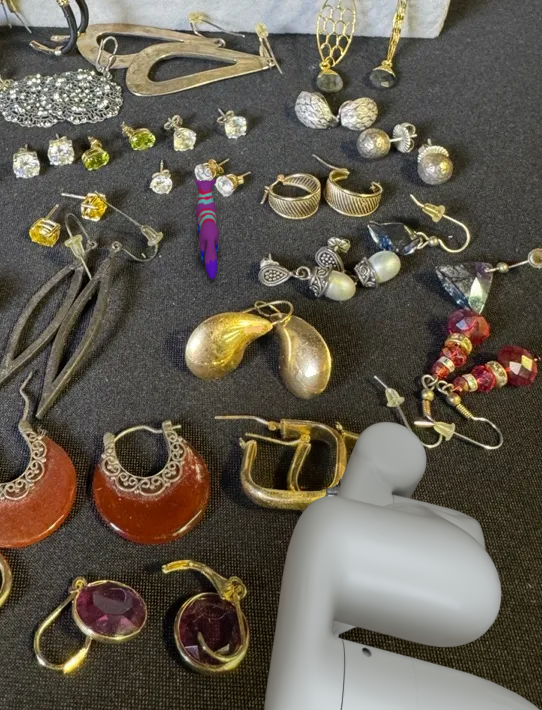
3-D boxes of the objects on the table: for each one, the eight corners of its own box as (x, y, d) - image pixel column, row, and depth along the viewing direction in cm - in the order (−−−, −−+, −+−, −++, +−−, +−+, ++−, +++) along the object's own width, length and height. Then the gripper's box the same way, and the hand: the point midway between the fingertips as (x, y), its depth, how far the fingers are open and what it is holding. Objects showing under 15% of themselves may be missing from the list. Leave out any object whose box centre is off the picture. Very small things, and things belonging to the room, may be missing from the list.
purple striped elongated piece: (211, 208, 150) (214, 168, 142) (222, 284, 138) (226, 245, 130) (191, 209, 150) (193, 169, 142) (201, 285, 138) (203, 246, 130)
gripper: (309, 526, 92) (289, 580, 105) (441, 530, 91) (403, 583, 105) (303, 464, 96) (285, 523, 110) (428, 467, 96) (394, 526, 110)
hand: (343, 552), depth 108 cm, fingers closed
